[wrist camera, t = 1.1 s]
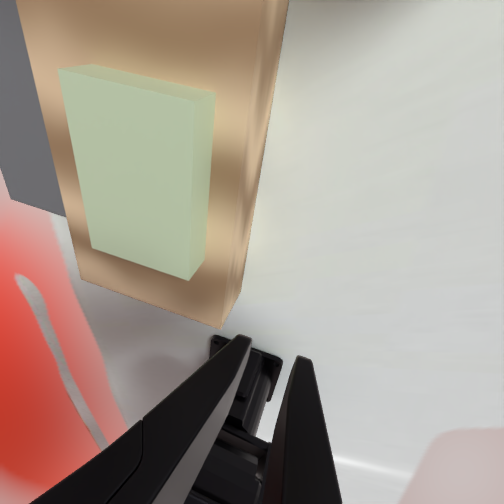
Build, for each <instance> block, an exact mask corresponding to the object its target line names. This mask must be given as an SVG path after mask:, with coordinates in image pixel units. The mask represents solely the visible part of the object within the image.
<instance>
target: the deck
mask: <svg viewBox="0 0 504 504" xmlns="http://www.w3.org/2000/svg"><path fill="white" fill-rule="evenodd" d="M16 4H17V8H18V13H19V17H20V21H21V25H22V30H23V34H24V38H25V42H26V47H27V51H28V55H29V59H30V64H31V68H32V72H33V76H34V81H35V85H36V89H37V94H38V98H39V102H40V106H41V111H42V115H43V119H44V123H45V128H46V132H47V136H48V140H49V145H50V149H51V153H52V157H53V162H54V166H55V170H56V174H57V179H58V183H59V187H60V191H61V196H62V200H63V204H64V209H65V213H66V217H67V221H68V226H69V230H70V234H71V238H72V243H73V247H74V251H75V255H76V260H77V264H78V268H79V272H80V277H81V279H82V280H84V281H87V282H90V283H93V284H96V285H98V286H101V287H104V288H107V289H109V290H112V291H115V292H118V293H120V294H123V295H126V296H129V297H132V298H134V299H137V300H140V301H143V302H145V303H148V304H151V305H154V306H156V307H159V308H162V309H165V310H168V311H170V312H173V313H176V314H179V315H181V316H184V317H187V318H190V319H193V320H195V321H198V322H201V323H204V324H206V325H209V326H212V327H215V328H217V329H220V330H221V328H222V326H223V324H224V322H225V320H226V318H227V317H228V315H229V313H230V311H231V309H232V307H233V305H234V303H235V301H236V299H237V298H238V296H239V294H240V292H241V286H242V280H243V274H244V268H245V262H246V256H247V250H248V244H249V238H250V232H251V226H252V220H253V214H254V208H255V202H256V196H257V190H258V184H259V178H260V172H261V166H262V160H263V154H264V148H265V142H266V136H267V130H268V124H269V118H270V112H271V106H272V100H273V94H274V88H275V82H276V76H277V70H278V64H279V58H280V52H281V46H282V40H283V34H284V28H285V22H286V16H287V10H288V4H289V0H16ZM88 64H94V65H99V66H103V67H107V68H112V69H116V70H120V71H125V72H129V73H133V74H138V75H142V76H146V77H151V78H155V79H159V80H164V81H168V82H172V83H177V84H181V85H185V86H189V87H194V88H198V89H202V90H207V91H211V92H215V93H216V100H215V114H214V129H213V143H212V158H211V173H210V187H209V202H208V216H207V231H206V246H205V260H204V261H203V263H202V264H201V265H200V267H199V268H198V269H197V271H196V272H195V273H194V275H193V276H192V277H191V279H190V280H189V281H187V280H184V279H181V278H179V277H176V276H173V275H170V274H167V273H164V272H161V271H158V270H155V269H152V268H149V267H146V266H143V265H140V264H137V263H134V262H131V261H129V260H126V259H123V258H120V257H117V256H114V255H111V254H108V253H105V252H102V251H99V250H96V249H93V248H92V246H91V241H90V236H89V230H88V225H87V220H86V215H85V210H84V204H83V199H82V194H81V189H80V184H79V179H78V173H77V168H76V163H75V158H74V153H73V147H72V142H71V137H70V132H69V127H68V122H67V116H66V111H65V106H64V101H63V96H62V90H61V85H60V80H59V75H58V70H57V69H58V68H66V67H73V66H80V65H88Z"/></svg>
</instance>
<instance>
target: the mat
mask: <svg viewBox="0 0 504 504" xmlns="http://www.w3.org/2000/svg"><path fill="white" fill-rule="evenodd" d="M0 168H1V171H2V174H3V177H4V180H5V183H6V186H7V188H8V192H9V195H10V198H11V199H12V200H15V201H18V202H22V203H25V204H28V205H31V206H34V207H37V208H40V209H43V210H46V211H49V212H52V213H55V214H58V215H61V216H64V217H66V213H65V209H64V204H63V200H62V196H61V191H60V187H59V183H58V179H57V174H56V170H55V166H54V162H53V157H52V153H51V149H50V145H49V140H48V136H47V132H46V128H45V123H44V119H43V115H42V111H41V106H40V102H39V98H38V94H37V89H36V85H35V81H34V76H33V72H32V68H31V64H30V59H29V55H28V51H27V47H26V42H25V38H24V34H23V30H22V25H21V21H20V17H19V13H18V8H17V4H16V0H0Z"/></svg>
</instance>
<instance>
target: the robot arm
mask: <svg viewBox="0 0 504 504" xmlns="http://www.w3.org/2000/svg"><path fill="white" fill-rule="evenodd" d="M251 344H252V339H251V338H250V337H247V336H245V335H242V334H239V335H237V336H236V337H235V338H233V339H232V340H229V339H226V338H224V337H221V336H218V335H215V336H213V338H212V340H211V347H210V357H209V360H208V361H207V362H206V363H205V364H204V365H202V366H201V367H200V368H199V369H198V370H197V371H196V372H194V373H193V374H192V375H191V376H190V377H189V378H188V379H186V380H185V381H184V382H183V383H182V384H181V385H180V386H178V387H177V388H176V389H175V390H174V391H173V392H172V393H170V394H169V395H168V396H167V397H166V398H165V399H164V400H162V401H161V402H160V403H159V404H158V405H157V406H156V407H154V408H153V409H152V410H151V411H150V412H149V413H147V414H146V415H145V416H144V417H143V420H139V421H138V422H137V423H136V424H135V425H134V426H132V427H131V428H130V429H129V430H128V431H127V432H125V433H124V434H123V435H122V436H121V437H119V438H118V439H117V440H116V441H115V442H113V443H112V444H111V445H110V446H108V447H107V448H106V449H105V450H103V451H102V452H101V453H99V454H98V455H96V456H95V457H94V458H92V459H91V460H90V461H88V462H87V463H86V464H85V465H83V466H82V467H80V468H79V469H77V470H76V471H75V472H73V473H72V474H71V475H69V476H68V477H66V478H65V479H63V480H62V481H61V482H59V483H58V484H56V485H55V486H54V487H52V488H51V489H49V490H48V491H46V492H45V493H44V494H42V495H41V496H39V497H38V498H37V499H35V500H34V501H32V502H31V503H29V504H342V498H341V494H340V489H339V484H338V480H337V475H336V470H335V465H334V461H333V456H332V451H331V447H330V442H329V437H328V433H327V428H326V423H325V419H324V414H323V409H322V405H321V400H320V395H319V391H318V386H317V381H316V377H315V372H314V367H313V363H312V361H311V359H308V358H306V357H303V356H300V355H298V356H297V357H296V359H295V362H294V365H293V367H292V370H291V373H290V376H289V379H288V383H287V386H286V390H285V393H284V397H283V400H282V404H281V408H280V411H279V415H278V418H277V422H276V425H275V429H274V434H273V439H272V443H271V442H266V441H263V440H261V439H259V438H257V437H255V436H256V433H257V429H258V426H259V423H260V420H261V416H262V413H263V410H264V407H265V403H266V402H269V401H271V398H272V395H273V392H274V389H275V386H276V383H277V380H278V377H279V374H280V371H281V368H282V365H283V361H282V359H280V358H278V357H276V356H273V355H270V354H267V353H265V352H262V351H259V350H257V349H254V348H251Z"/></svg>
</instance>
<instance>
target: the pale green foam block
mask: <svg viewBox="0 0 504 504" xmlns="http://www.w3.org/2000/svg"><path fill="white" fill-rule="evenodd" d="M57 70H58V75H59V80H60V85H61V90H62V96H63V101H64V106H65V111H66V116H67V122H68V127H69V132H70V137H71V142H72V147H73V153H74V158H75V163H76V168H77V173H78V179H79V184H80V189H81V194H82V199H83V204H84V210H85V215H86V220H87V225H88V230H89V236H90V241H91V246H92V248H93V249H96V250H99V251H102V252H105V253H108V254H111V255H114V256H117V257H120V258H123V259H126V260H129V261H131V262H134V263H137V264H140V265H143V266H146V267H149V268H152V269H155V270H158V271H161V272H164V273H167V274H170V275H173V276H176V277H179V278H181V279H184V280H187V281H189V280H190V279H191V277H192V276H193V275H194V273H195V272H196V271H197V269H198V268H199V267H200V265H201V264H202V263H203V261H204V260H205V246H206V231H207V216H208V202H209V187H210V173H211V158H212V143H213V129H214V114H215V100H216V93H215V92H211V91H207V90H202V89H198V88H194V87H189V86H185V85H181V84H177V83H172V82H168V81H164V80H159V79H155V78H151V77H146V76H142V75H138V74H133V73H129V72H125V71H120V70H116V69H112V68H107V67H103V66H99V65H94V64H88V65H80V66H73V67H66V68H58V69H57Z"/></svg>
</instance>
